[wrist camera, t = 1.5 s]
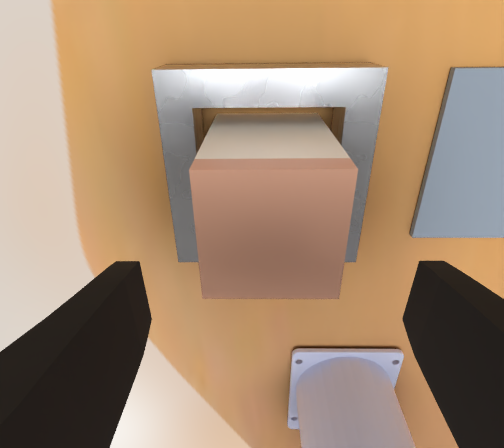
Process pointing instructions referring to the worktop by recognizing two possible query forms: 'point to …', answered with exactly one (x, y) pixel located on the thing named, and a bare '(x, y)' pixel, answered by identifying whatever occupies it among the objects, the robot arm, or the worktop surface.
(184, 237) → the frame
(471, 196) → the rubber mat
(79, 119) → the worktop surface
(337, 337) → the worktop surface
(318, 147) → the beige pink box
